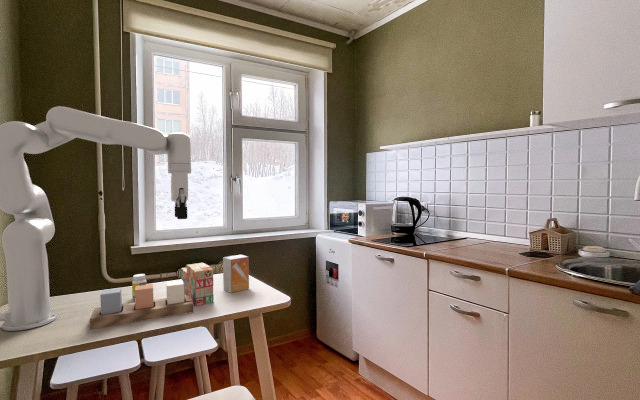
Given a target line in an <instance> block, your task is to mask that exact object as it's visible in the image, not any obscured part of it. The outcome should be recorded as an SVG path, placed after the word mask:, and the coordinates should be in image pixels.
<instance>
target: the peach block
mask: <svg viewBox="0 0 640 400" xmlns="http://www.w3.org/2000/svg"><path fill="white" fill-rule="evenodd" d="M153 300H154V284H153V283H150V284H147V285H141V286H136V287H135V299H134V301H135V302H134V303H135V307H136V309H142V308H149V307H154V302H153Z"/></svg>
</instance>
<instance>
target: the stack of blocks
mask: <svg viewBox="0 0 640 400" xmlns="http://www.w3.org/2000/svg"><path fill="white" fill-rule="evenodd" d="M180 277H181V280H183V283H184V295H190V296H191V298H192V301H193V306H195V307H200V306H205V305H210V304H214V268H212V267H211V266H210V265H208V264H206V263H204V262H199V263H192V264H191V263H190V264H189V263H188V264H186V267H181V268H180Z"/></svg>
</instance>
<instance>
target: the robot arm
mask: <svg viewBox="0 0 640 400" xmlns="http://www.w3.org/2000/svg"><path fill="white" fill-rule="evenodd" d="M76 138H78V139H82V140H86V141H91V142H94V143H98V144H103V145H109V146H110V145H121V146H126V147H131V148H135V149H140V150H144V151H146V152H147V153H148V154H150V155H154V156H158V155H167V173H168V174H170V175H171V176H170V192H171V193H170V195H171V196H170V200H171V202H174V217H175V218H177V220H187V219H188V206H187V201H189V176H188V175H189V174H192V162H191V161H192V158H191V157H192V153H191V151H192V150H191V148H192V147H191V137H190V135H189V134H186V133H185V132H171V133H169V134H164V133H163V131H162V130H161V131H160V130H159V129H157V128H153V127H150V126H146V125H143V124H139V123H134V122H132V121H125V120H119V119H116V118H110V117H106V116H102V115H98V114H95V113H90V112H86V111H83V110H79V109H76V108H72V107H67V106H61V105H59V106H54V107H51V108H50V109H49V110H48V111H47V113H46V116H45V121H42V122H39V123H36V125H35V124H34V125H31V124H30V123H27V122H24V121H19V120H18V121H17V120H12V121H7V122H5V123H2V124H0V210H1V211H2V212H4V213H6V214H7V215H8V214H9V215H13V217H14V221H11V223H9V224H8V225H7V226H6V227H5V229H4V230H3V233H2V236H1V244H2V249H3V253H4V257H5V258H4V259H5V269H6V285H7V286H6V287H7V306H8V307H7V308H8V310H5V311H4V312H3V313H2V312H0V322H1V321H3V323H2V324H1V329H2V330H3V331H9V332H14V331H24V330H29V329H35V328H38V327H42V326H44V325H45V326H46V325H47V324H50V323H52V322H53V321H55V320H56V319H57V318H58V316H57V315H58V314H57V313H56V312H54V311H51V299H50V278H49V277H50V274H49V260H48V258H49V257H48V253H47V248H46V244H47V243H49V242H50V241H52V238H53V237H54V235H55V232H56V228H55V227H56V226H55V223H54V219H53V215H52V210H51V207H50V202H49V199H48V197H47V194H46V193H45V191H44V190H43V189H42V188H41V187H39V186H38V185H36V184H33V183H32V182H33V181H32V178H31V177H30V171H29V167H28V165H27V163H26V160H25V158H24V154H30V155H39V154H42V153H45V152H48V151H50V150H52V149H54V148H57V147H59V146H62V145H65V144H66V143H69V142H70V141H73V140H74V139H76Z"/></svg>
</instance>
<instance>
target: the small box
mask: <svg viewBox="0 0 640 400" xmlns="http://www.w3.org/2000/svg"><path fill="white" fill-rule="evenodd" d="M249 262H250V259H249V256H247V255H244V254H238V255H237V254H236V255H229V256H224V257H223V256H222V266H223V267H222V271H223V273H222V275H223V278H222V279H223V290H224V291H225V292H229V293H236V292H240V291H245V290H249V289H250V276H249V275H250V267H249V266H250V263H249Z"/></svg>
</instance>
